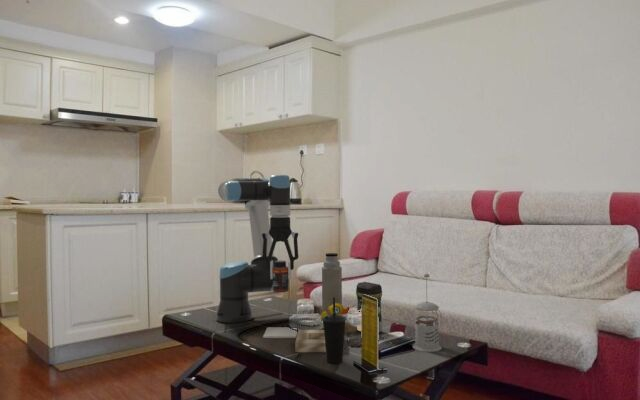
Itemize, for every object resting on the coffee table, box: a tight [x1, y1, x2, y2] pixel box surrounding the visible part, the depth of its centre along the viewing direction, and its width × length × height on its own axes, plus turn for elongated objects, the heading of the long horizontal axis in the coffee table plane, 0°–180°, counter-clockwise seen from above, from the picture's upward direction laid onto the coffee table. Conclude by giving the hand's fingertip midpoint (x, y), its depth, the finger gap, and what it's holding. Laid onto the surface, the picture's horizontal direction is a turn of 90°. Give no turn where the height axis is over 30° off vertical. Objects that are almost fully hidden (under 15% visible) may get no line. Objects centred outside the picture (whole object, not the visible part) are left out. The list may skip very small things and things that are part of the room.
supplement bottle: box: [272, 260, 290, 293], centre depth 190 cm, size 6×6×11 cm
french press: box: [411, 273, 443, 353], centre depth 173 cm, size 10×12×25 cm
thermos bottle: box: [321, 252, 343, 315], centre depth 205 cm, size 8×8×28 cm
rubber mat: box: [262, 326, 298, 339], centre depth 190 cm, size 12×12×1 cm
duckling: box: [320, 303, 350, 322], centre depth 196 cm, size 11×5×10 cm, turn 73°
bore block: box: [294, 329, 345, 353], centre depth 176 cm, size 16×16×3 cm
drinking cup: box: [322, 298, 347, 365], centre depth 159 cm, size 8×8×20 cm
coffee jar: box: [355, 281, 383, 334], centre depth 191 cm, size 10×8×19 cm
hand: (280, 278), depth 190 cm, fingers closed on supplement bottle, 6 cm apart
